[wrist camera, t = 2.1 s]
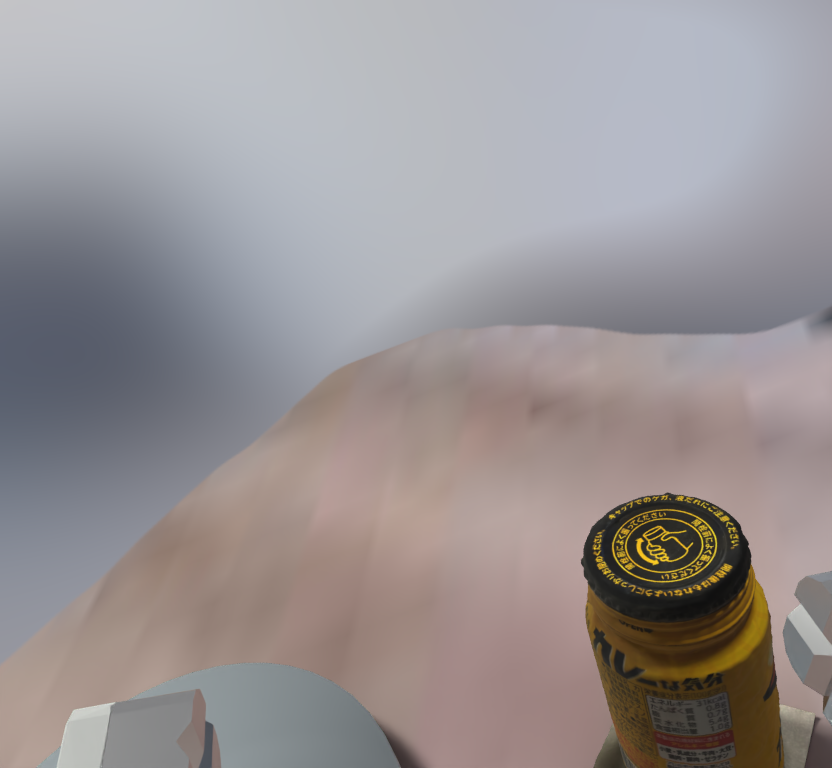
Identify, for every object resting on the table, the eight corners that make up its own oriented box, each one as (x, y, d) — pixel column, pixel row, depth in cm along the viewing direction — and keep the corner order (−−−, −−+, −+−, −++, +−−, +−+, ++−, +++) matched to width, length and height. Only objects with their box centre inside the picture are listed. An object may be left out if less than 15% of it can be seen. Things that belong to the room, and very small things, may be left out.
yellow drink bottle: (815, 716, 31) (798, 489, 25) (768, 933, 26) (732, 705, 20) (638, 666, 35) (588, 462, 29) (564, 842, 30) (486, 634, 24)
